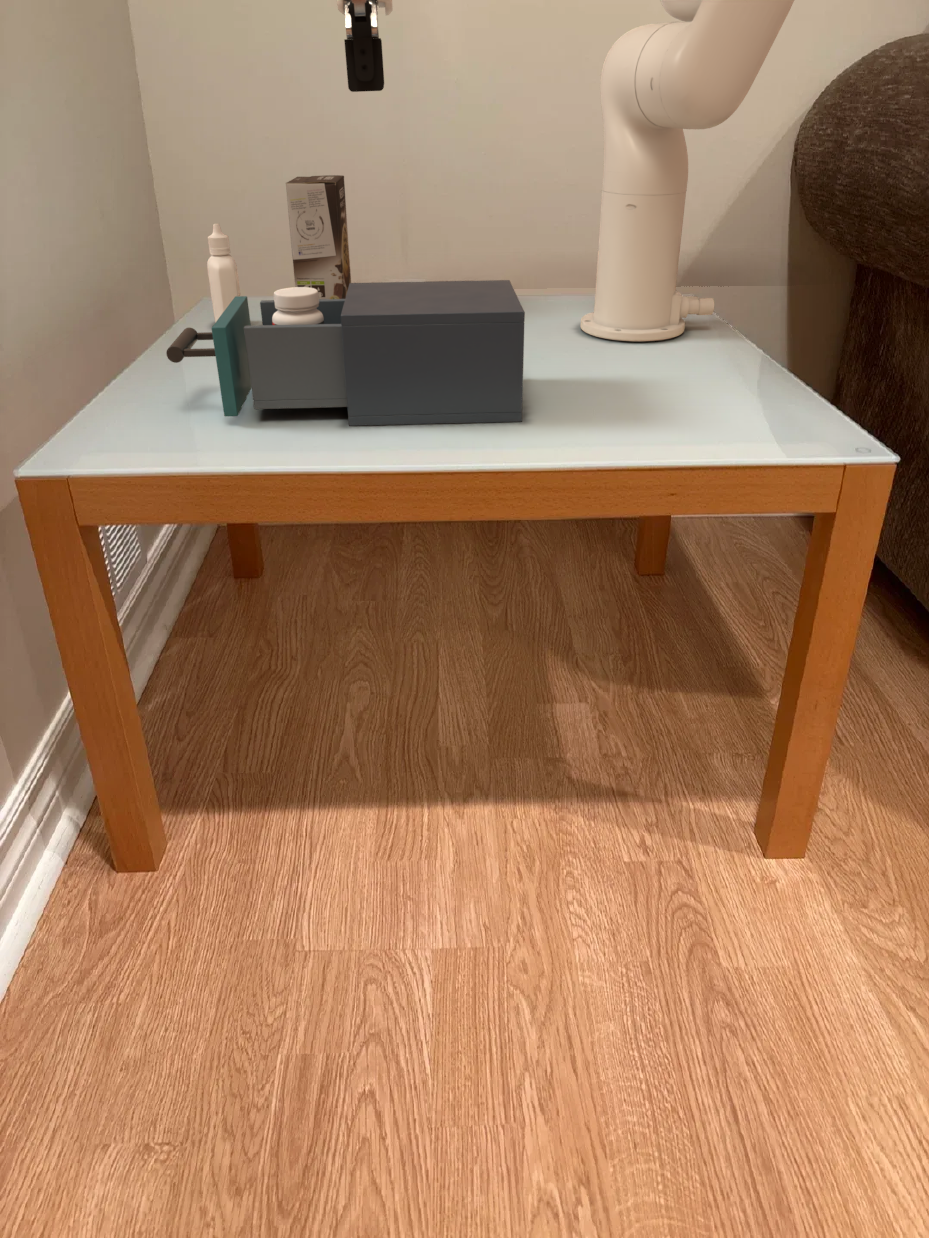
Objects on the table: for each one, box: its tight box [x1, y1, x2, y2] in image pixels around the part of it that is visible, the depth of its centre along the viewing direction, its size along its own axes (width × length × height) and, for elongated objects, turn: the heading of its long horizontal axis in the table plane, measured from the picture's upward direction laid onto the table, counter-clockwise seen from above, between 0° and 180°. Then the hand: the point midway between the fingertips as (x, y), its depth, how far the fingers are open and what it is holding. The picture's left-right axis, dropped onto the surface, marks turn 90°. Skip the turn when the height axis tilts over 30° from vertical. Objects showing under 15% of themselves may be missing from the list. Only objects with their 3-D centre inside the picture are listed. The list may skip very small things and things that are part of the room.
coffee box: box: [285, 174, 352, 299], centre depth 119 cm, size 9×6×16 cm
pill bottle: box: [272, 286, 324, 325], centre depth 86 cm, size 5×5×8 cm
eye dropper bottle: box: [206, 223, 242, 324], centre depth 113 cm, size 4×6×12 cm
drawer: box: [165, 295, 348, 417], centre depth 86 cm, size 20×13×8 cm, turn 93°
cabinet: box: [341, 279, 526, 427], centre depth 87 cm, size 16×14×10 cm
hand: (367, 89), depth 87 cm, fingers open, 9 cm apart
